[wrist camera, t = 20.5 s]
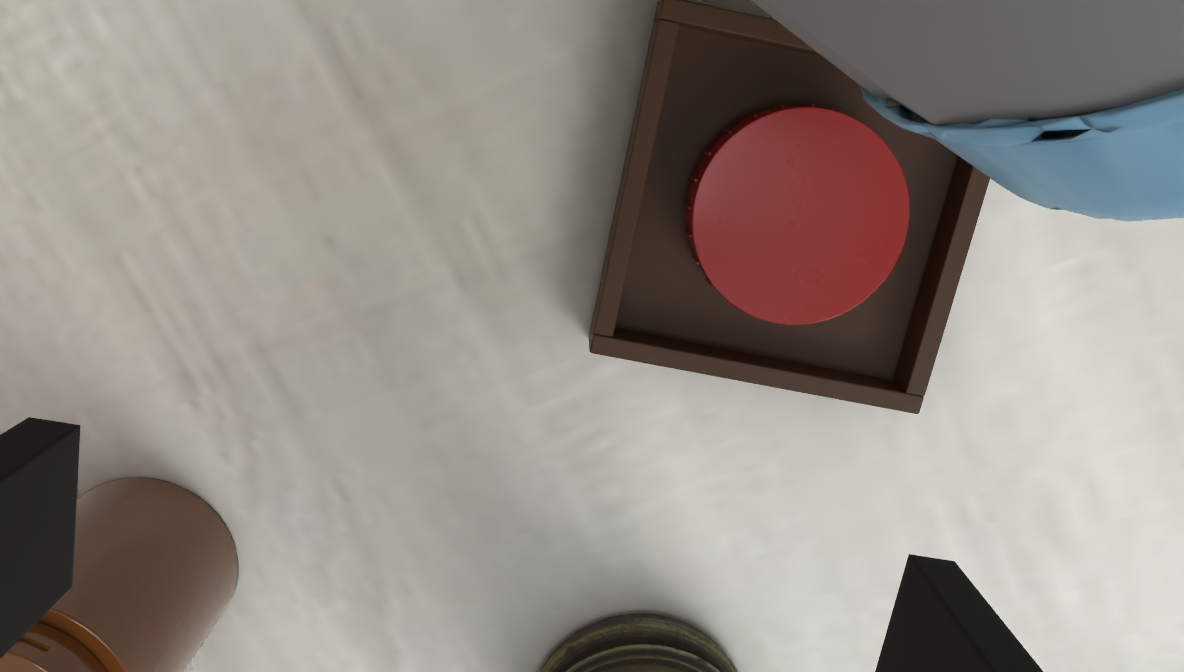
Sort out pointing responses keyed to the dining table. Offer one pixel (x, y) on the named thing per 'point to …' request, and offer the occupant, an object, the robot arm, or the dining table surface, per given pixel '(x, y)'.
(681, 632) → the container
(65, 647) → the jar
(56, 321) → the dining table surface
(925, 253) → the tray
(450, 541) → the dining table surface
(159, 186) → the dining table surface
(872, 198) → the lid
